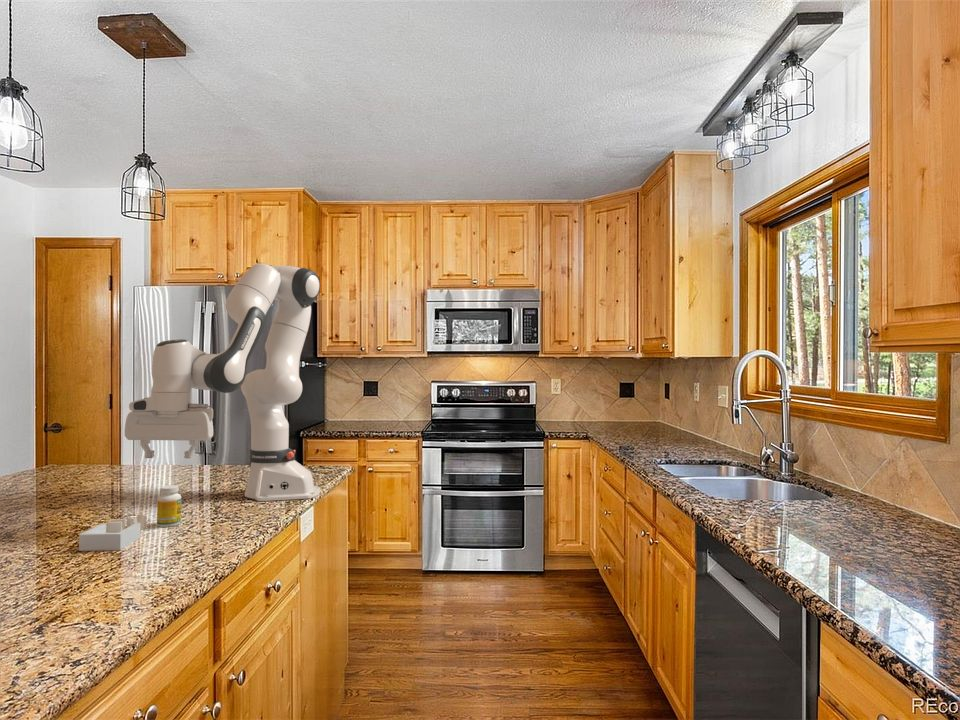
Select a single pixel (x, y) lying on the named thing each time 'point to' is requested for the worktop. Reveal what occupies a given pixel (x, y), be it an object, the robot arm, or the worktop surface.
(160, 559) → the worktop surface
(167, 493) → the supplement bottle
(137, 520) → the clip
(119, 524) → the grey cube
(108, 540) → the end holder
